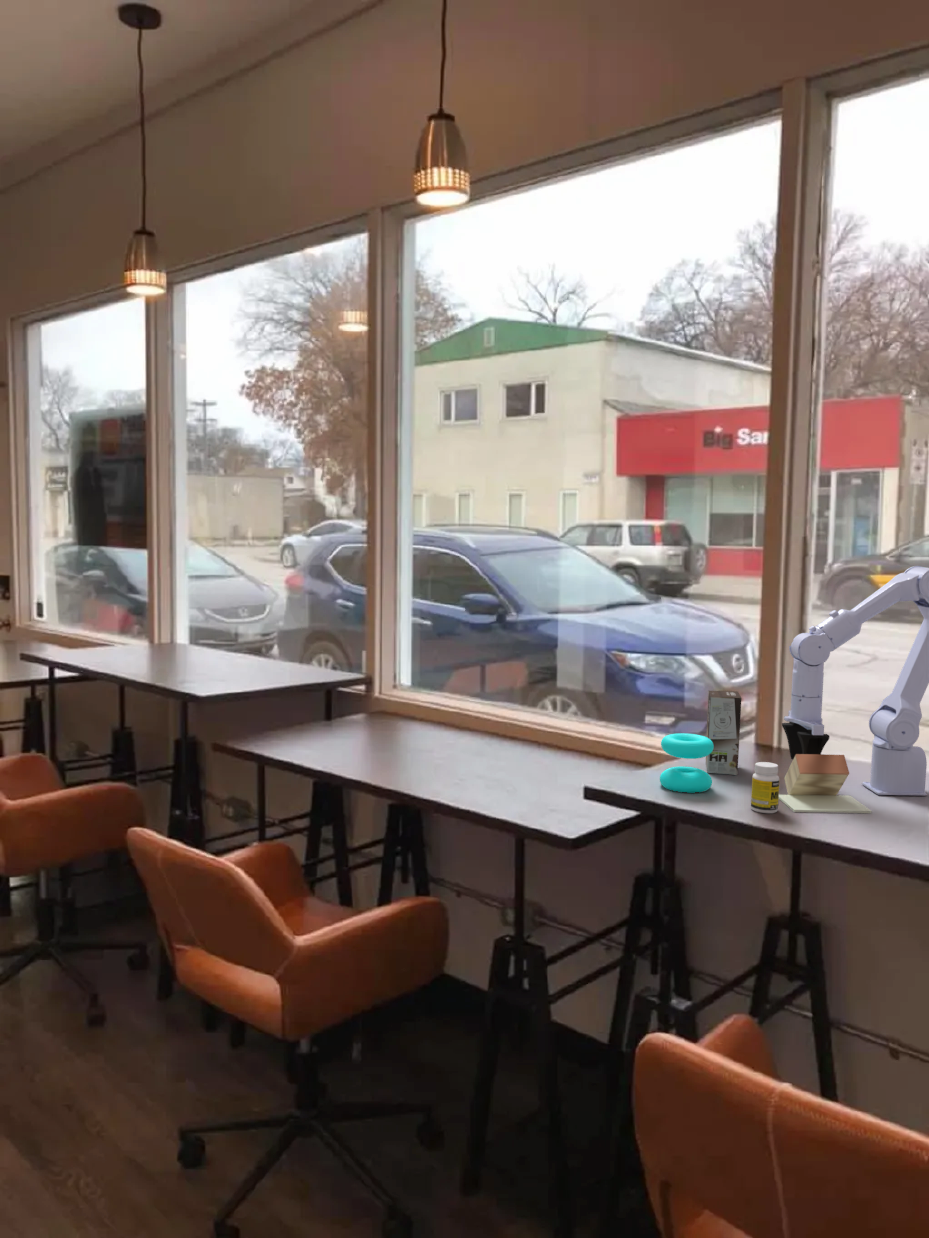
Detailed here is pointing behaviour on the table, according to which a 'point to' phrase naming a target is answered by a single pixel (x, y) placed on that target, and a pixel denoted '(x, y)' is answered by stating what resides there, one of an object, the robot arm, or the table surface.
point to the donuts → (681, 775)
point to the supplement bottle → (765, 788)
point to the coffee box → (723, 731)
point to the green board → (823, 803)
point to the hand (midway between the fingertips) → (803, 763)
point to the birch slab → (816, 774)
